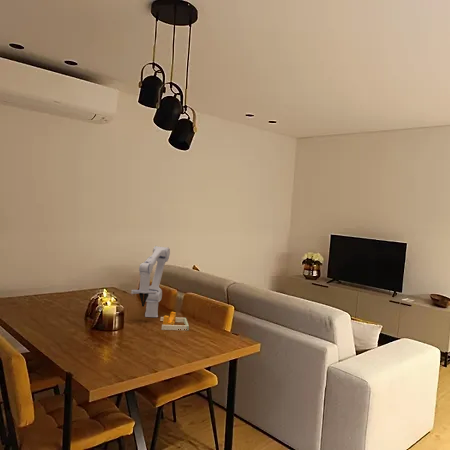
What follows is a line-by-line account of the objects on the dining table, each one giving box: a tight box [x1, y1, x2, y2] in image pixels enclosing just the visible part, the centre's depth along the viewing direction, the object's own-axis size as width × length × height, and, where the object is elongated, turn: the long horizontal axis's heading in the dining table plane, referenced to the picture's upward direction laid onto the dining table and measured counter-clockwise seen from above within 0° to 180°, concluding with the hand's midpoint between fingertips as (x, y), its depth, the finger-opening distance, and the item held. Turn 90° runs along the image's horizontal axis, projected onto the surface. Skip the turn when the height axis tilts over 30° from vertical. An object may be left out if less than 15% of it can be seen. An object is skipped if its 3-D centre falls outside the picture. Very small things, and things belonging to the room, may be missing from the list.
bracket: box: [159, 316, 190, 331], centre depth 251 cm, size 17×15×2 cm
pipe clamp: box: [162, 311, 177, 325], centre depth 252 cm, size 12×4×6 cm, turn 164°
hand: (142, 306), depth 253 cm, fingers closed
